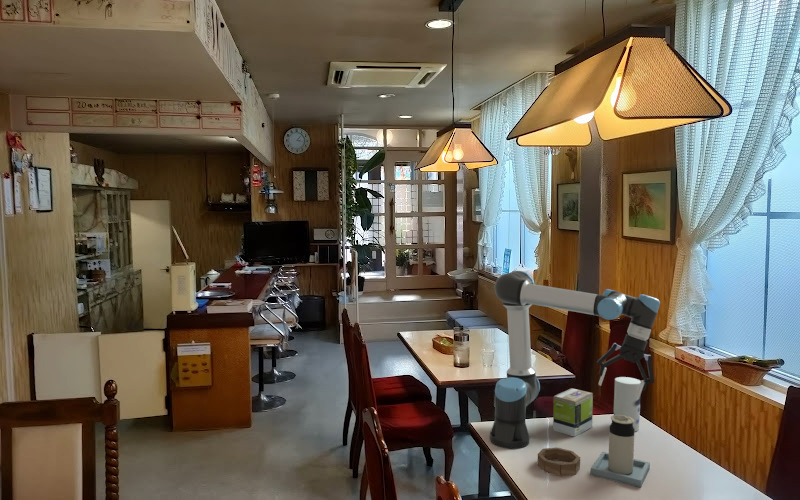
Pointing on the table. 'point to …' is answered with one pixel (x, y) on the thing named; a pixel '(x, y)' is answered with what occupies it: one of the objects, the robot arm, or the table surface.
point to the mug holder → (556, 467)
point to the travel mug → (621, 444)
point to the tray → (632, 479)
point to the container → (627, 399)
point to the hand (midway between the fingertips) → (618, 391)
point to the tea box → (572, 412)
